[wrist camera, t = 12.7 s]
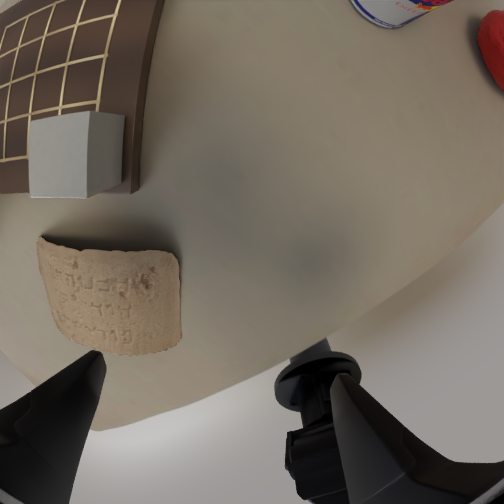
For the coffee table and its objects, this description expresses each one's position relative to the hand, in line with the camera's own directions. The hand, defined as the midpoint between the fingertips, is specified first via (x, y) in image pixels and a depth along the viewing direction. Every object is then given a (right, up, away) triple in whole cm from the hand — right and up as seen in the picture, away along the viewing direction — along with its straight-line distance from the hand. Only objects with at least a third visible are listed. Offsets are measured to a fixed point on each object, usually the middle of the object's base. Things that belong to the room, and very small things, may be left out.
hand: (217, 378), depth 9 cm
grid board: (-16, +19, +5) cm, 25 cm away
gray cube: (-9, +11, +6) cm, 16 cm away
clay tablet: (-12, +1, +12) cm, 17 cm away
